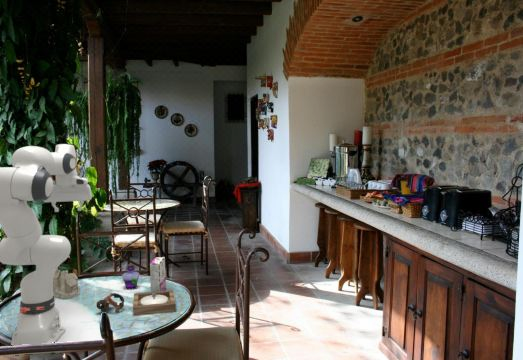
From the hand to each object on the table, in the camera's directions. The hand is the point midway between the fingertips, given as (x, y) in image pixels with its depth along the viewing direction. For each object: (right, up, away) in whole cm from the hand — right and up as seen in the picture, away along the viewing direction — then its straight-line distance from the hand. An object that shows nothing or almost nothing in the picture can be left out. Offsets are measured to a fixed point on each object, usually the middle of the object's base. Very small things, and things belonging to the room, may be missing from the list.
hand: (68, 211), depth 203 cm
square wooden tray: (+38, -43, +2) cm, 57 cm away
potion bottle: (+20, -41, +27) cm, 53 cm away
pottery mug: (+19, -44, -3) cm, 48 cm away
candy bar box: (+36, -41, +19) cm, 58 cm away
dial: (+38, -42, +2) cm, 56 cm away
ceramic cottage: (-8, -42, +20) cm, 47 cm away
